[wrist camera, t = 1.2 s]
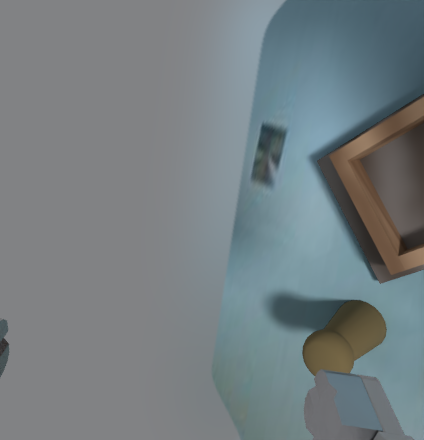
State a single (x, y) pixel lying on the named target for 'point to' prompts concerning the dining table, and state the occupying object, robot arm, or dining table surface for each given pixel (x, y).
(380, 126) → the collar
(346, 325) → the cork
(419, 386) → the dining table surface
